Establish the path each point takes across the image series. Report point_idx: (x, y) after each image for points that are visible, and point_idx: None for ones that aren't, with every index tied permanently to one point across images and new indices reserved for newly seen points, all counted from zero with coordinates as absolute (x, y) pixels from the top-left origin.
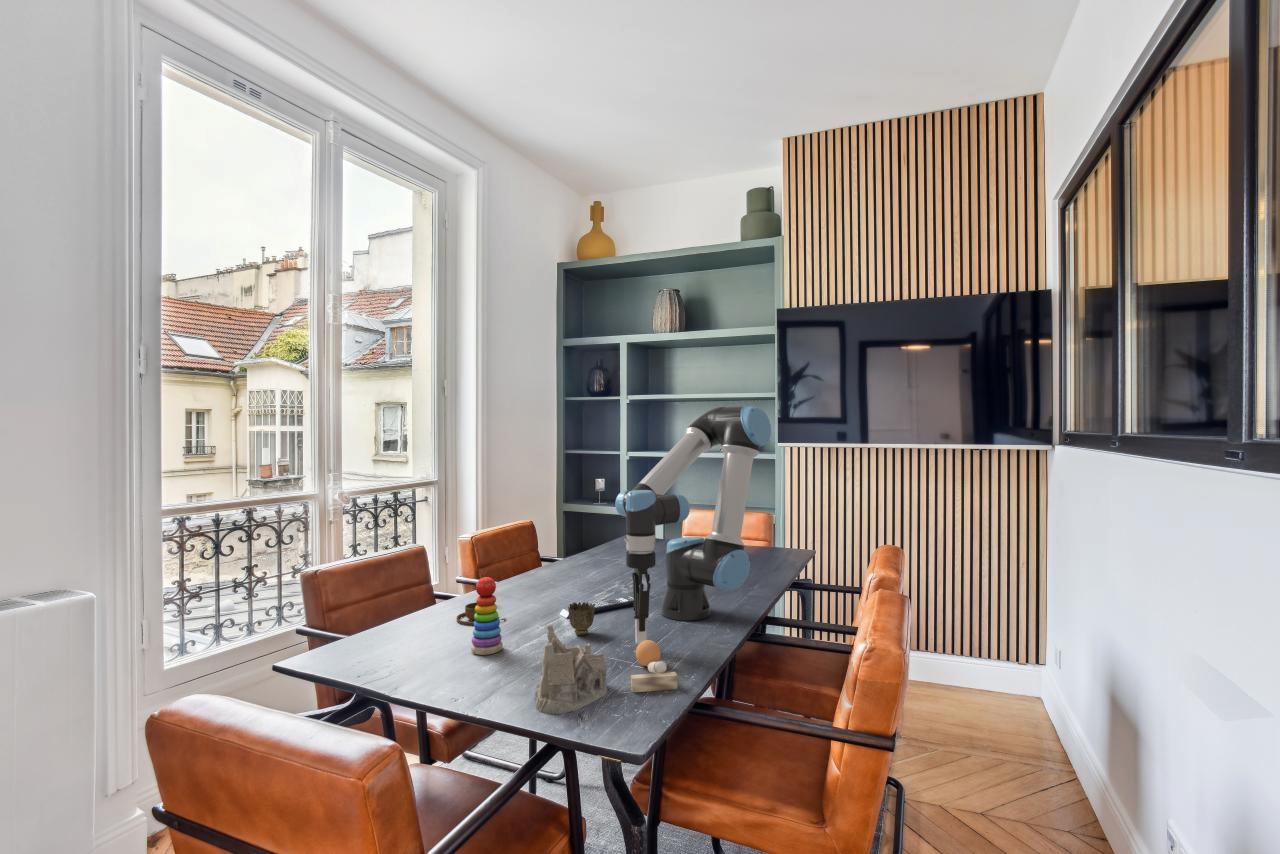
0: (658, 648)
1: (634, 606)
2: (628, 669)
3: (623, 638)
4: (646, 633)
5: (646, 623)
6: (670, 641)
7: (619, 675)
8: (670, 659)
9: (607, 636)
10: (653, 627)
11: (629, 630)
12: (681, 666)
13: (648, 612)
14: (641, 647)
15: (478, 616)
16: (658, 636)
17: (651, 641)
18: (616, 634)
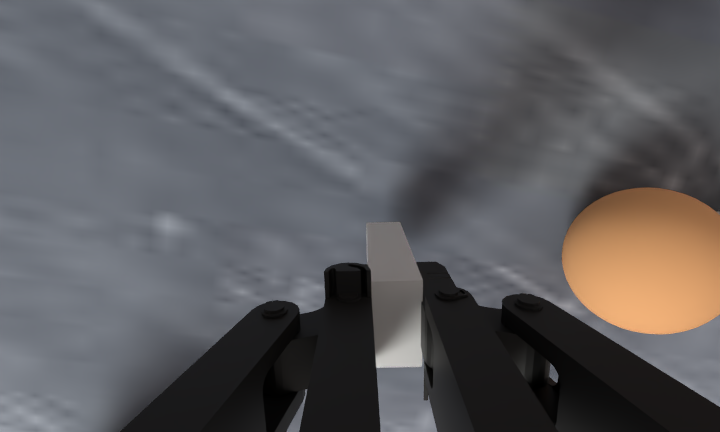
0: (716, 214)
1: (286, 416)
2: (613, 329)
3: (199, 301)
4: (405, 240)
5: (414, 263)
6: (271, 50)
7: (665, 371)
8: (549, 110)
9: (163, 371)
10: (9, 108)
11: (69, 255)
12: (661, 71)
13: (584, 325)
14: (706, 322)
15: None
16: (177, 107)
17: (712, 266)
18: (134, 327)
